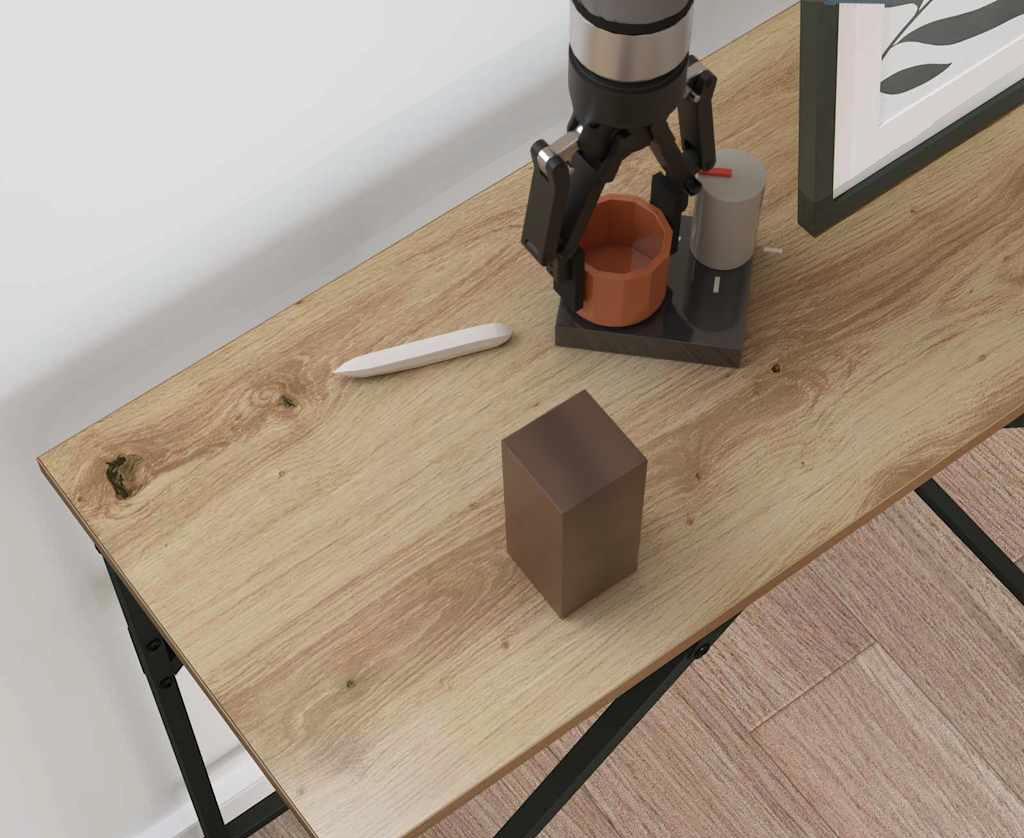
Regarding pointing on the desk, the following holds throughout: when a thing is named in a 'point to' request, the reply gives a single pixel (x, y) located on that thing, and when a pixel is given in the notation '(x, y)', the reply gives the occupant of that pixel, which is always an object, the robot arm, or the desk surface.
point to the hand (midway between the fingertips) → (615, 269)
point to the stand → (573, 502)
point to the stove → (677, 315)
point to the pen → (426, 351)
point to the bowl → (625, 260)
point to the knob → (728, 210)
